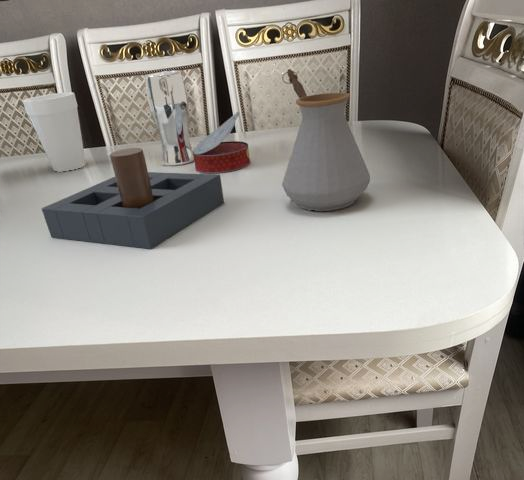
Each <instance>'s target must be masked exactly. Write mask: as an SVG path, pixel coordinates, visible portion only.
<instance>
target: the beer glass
mask: <svg viewBox="0 0 524 480" xmlns="http://www.w3.org/2000/svg"><path fill="white" fill-rule="evenodd" d="M143 77H144V84H145V92H146V97H147V98H146V99H147V102H148V107H149V111H150V114H151V118H152V120H153V122H154V126H155V128H156V130H157V133H158V136H159V140H160V144H161V148H162V163H163V165H165V166H169V167H170V166H181V165H187V164H190V163H192V162H194V156H193V150H194V149H193V148H192V144H191V139H190V119H189V112H190V111H189V102H188V95H187V90H186V86H185V82H184V77H183V73H182V70H177V69H176V70H165V71H164V70H163V71H158V72H154V73H147V74H144V76H143Z"/></svg>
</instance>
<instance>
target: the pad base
mask: <svg viewBox="0 0 524 480" xmlns="http://www.w3.org/2000/svg"><path fill="white" fill-rule="evenodd" d="M148 175H149V179H150V184H151V188H152V193H153V197H154V202H152V203H150V204H148V205H146V206H144V207H142V208H140V209H138V208H124V207H123V205H122V201H121V197H120V193H119V190H118V186H117V182H116V178H115V176H112V177H110V178H108V179H106V180H103V181H101V182H98V183H96V184H93V185H92V186H90V187H88V188H85V189H83V190H81V191H78V192H76V193H74V194H71V195H69V196H67V197H64V198H62V199H60V200H57V201H55V202H53V203H50V204H48V205H46V206H44V207H42V208H41V211H42V215H43V218H44V221H45V223H46V225H47V229H48V232H49V234H50V237H51V238H53V239H63V240H72V241H79V242H88V243H89V242H90V243H97V244H104V245H105V244H106V245H112V246H113V245H114V246H122V247H130V248H139V249H147V250H148V249H149V250H152V249H153V248H155V247H156V246H158V245H160V244H161V243H163V242H164V241H166V240H167V239H169V238H171V237H172V236H175V234H177V233H179V232H180V231H182V230H183V229H185V228H186V227H188V226H190V225H191V224H193V223H195V222H196V221H198V220H199V219H201V218H203V217H204V216H206V215H207V214H208V213H210V212H212V211H214V210H215V209H216V208H218V207H219V206H221V205H223V204H225V199H224V192H223V184H222V178H221V174H218V173H185V172H183V173H181V172H180V173H179V172H158V171H156V172H153V171H148Z"/></svg>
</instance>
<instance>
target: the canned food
mask: <svg viewBox="0 0 524 480" xmlns="http://www.w3.org/2000/svg"><path fill="white" fill-rule="evenodd" d="M239 116H240V112H239V111H236V112H235V114H233V115H232V116H231V117H230V118H228V119H227V120H225V121H224V122H223V123H222V124H221V125H219V127H217V128H216V129H214V130H213V131H212V132H211V133H209V134H208V135H206V137H205V138H204V139H203V140H201V141H200V142H199V143H198V144H197V145H196V147H194V149H192V150H193V156H194V161H193V162H194V167H195V171H196V172H197V173H200V174H222V173H223V174H224V173H230V172H235V171H238V170H242V169H244V168H246V167H247V166H249V165H250V164H251V156H250V148H249V143H248V142H245V141H240V140H230V141H228V140H227V141H225V140H226V139H227V138H228V136H229V135H230V134H231V132H232V131H233V129H234V127H235V124H236V122H237V121H236V120H237V118H238V117H239Z"/></svg>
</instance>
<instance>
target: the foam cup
mask: <svg viewBox="0 0 524 480" xmlns="http://www.w3.org/2000/svg"><path fill="white" fill-rule="evenodd" d="M22 104H23V107H24V110H25V114H26V116H28V118H29V121H30V122H31V124H32V126H33V128H34V131H35V133H36V135H37V137H38V139H39V142H40V144H41V147H42V148H43V151H44V153H45V155H46V157H47V159H48V161H49V164H50V166H51V168H52V170H53V171H54V172H55V171H57V172H56V173H64V172H63V171H66V172H70V171H69V170H72V171H75V170H74V169H76V170H79V169H78V168H80V169H81V167H82V168H84V167H86V165H85V164H86V158H85V157H86V156H85V151H84V144H83V143H84V142H83V137H82V131H81V123H80V117H79V111H78V107H79V105H78V102H77V99H76V95H75V92H72V91H71V92H69V91H66V92H57V93H48V94H43V95H38V96H32V97H29V98H25V99H23V100H22ZM83 166H84V167H83Z"/></svg>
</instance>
